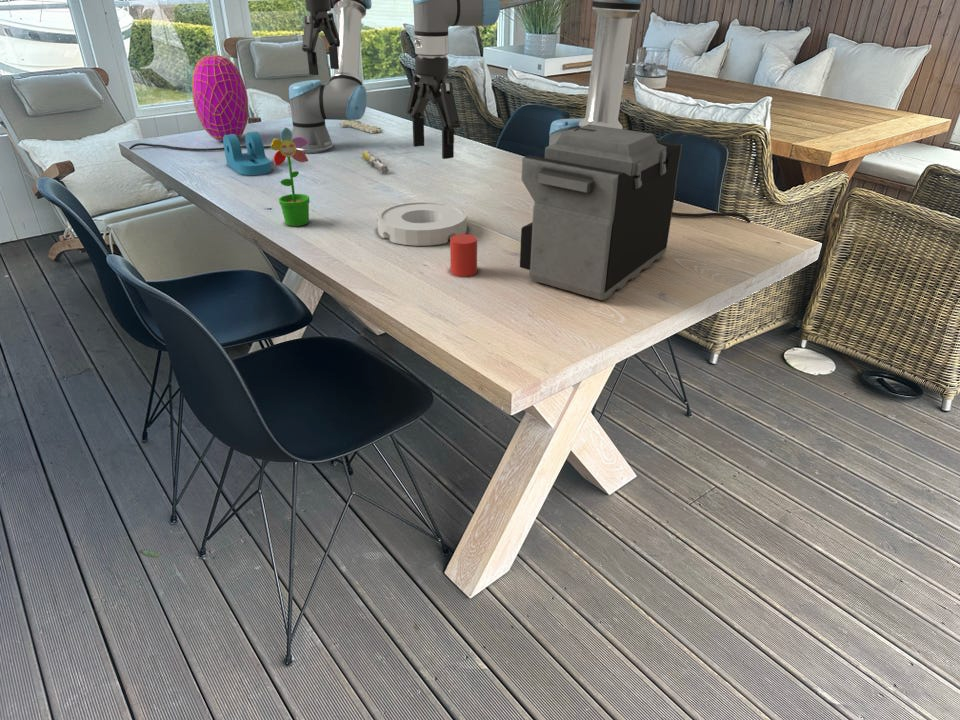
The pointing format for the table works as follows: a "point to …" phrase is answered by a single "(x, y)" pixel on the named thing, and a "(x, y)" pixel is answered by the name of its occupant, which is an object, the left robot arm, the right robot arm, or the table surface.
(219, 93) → the decorative egg
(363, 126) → the decorative sign
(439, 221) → the ashtray
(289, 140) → the potted flower
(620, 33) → the right robot arm
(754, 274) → the table surface
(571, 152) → the grey cooler box
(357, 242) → the table surface
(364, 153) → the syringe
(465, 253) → the canister
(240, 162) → the camera mount
